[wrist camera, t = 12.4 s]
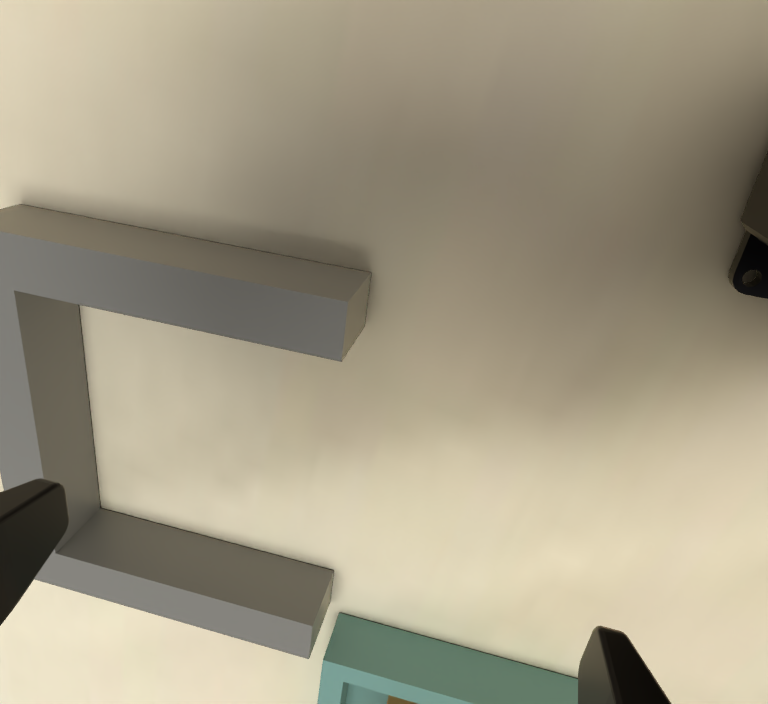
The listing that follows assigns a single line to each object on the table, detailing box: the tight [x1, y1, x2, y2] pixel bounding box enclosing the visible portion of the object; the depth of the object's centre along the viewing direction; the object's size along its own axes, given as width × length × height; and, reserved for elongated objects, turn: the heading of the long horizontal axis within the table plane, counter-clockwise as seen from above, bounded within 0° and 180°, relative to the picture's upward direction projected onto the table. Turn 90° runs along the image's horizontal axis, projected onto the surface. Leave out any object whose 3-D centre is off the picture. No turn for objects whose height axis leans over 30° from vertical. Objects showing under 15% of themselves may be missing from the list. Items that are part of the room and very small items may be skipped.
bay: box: [0, 204, 371, 659], centre depth 23 cm, size 14×16×3 cm
